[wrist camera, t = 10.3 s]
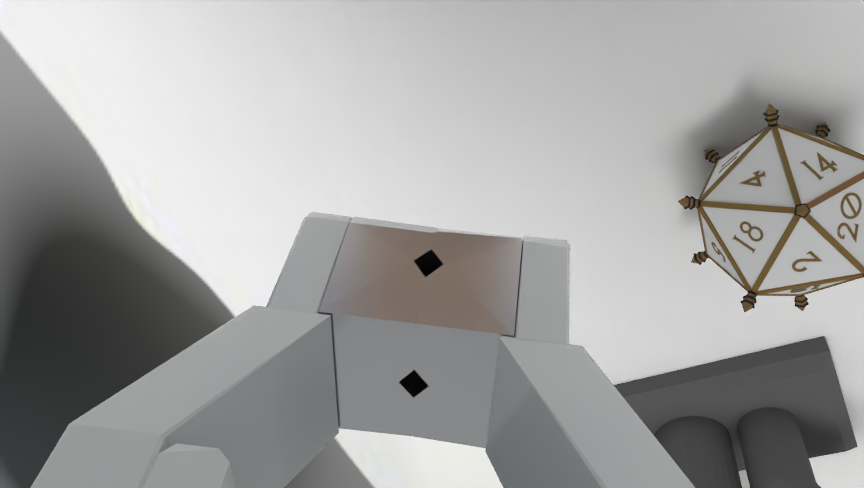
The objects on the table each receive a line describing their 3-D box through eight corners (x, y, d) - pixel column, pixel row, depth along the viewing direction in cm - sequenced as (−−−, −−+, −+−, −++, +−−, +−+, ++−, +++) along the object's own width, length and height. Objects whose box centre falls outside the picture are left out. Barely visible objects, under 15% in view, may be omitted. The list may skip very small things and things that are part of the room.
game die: (730, 97, 39) (744, 55, 30) (907, 164, 37) (985, 140, 28) (652, 262, 41) (643, 271, 31) (820, 336, 38) (865, 371, 29)
